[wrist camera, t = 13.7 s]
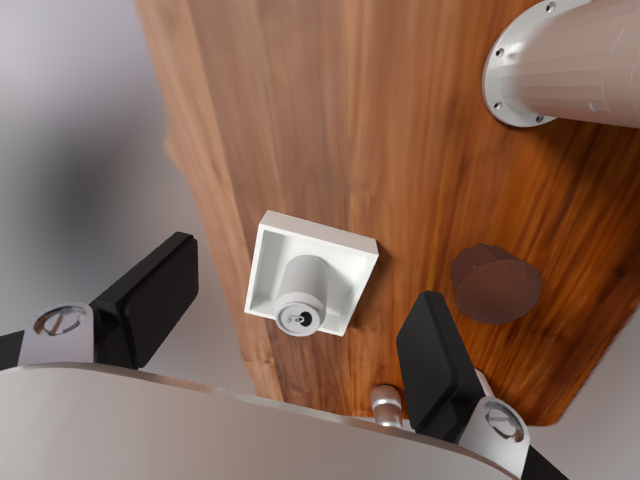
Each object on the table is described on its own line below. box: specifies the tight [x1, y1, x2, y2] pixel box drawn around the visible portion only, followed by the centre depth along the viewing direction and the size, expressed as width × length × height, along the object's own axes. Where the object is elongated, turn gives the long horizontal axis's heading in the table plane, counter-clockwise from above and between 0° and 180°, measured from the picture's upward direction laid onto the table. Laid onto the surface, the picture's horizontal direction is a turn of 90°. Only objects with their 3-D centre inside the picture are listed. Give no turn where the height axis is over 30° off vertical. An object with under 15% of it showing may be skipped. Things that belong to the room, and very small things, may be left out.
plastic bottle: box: [370, 385, 403, 430], centre depth 55 cm, size 6×7×20 cm
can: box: [273, 255, 329, 336], centre depth 42 cm, size 8×8×12 cm
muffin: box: [451, 244, 542, 324], centre depth 41 cm, size 12×11×10 cm
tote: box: [244, 210, 379, 336], centre depth 46 cm, size 18×18×5 cm
